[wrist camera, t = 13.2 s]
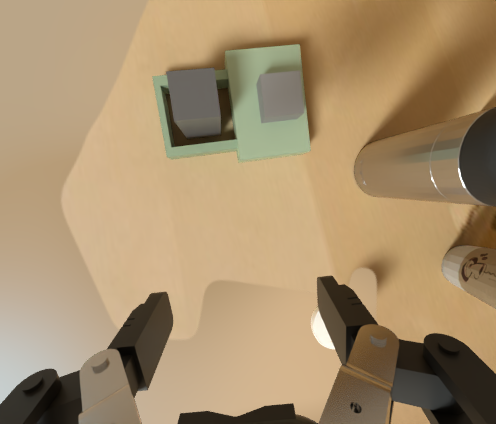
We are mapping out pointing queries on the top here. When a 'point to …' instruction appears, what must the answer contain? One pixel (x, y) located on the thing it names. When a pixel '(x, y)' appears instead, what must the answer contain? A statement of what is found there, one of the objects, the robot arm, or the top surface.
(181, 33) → the top surface
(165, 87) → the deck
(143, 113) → the top surface
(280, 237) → the top surface
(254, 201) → the top surface
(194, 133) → the tall slate pillar
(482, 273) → the coffee cup
